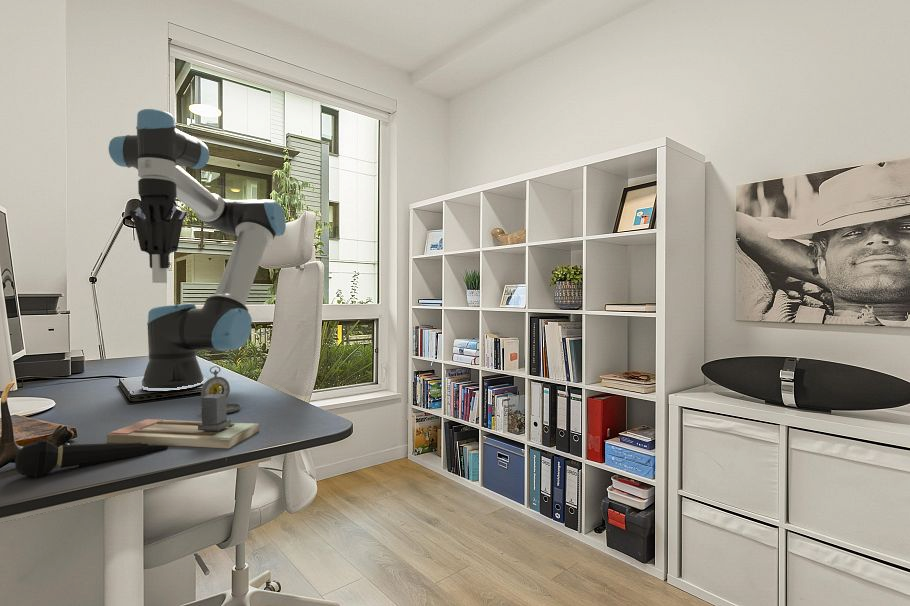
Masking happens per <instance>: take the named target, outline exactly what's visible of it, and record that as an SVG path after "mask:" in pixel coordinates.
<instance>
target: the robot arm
mask: <svg viewBox="0 0 910 606" xmlns="http://www.w3.org/2000/svg"><path fill="white" fill-rule="evenodd" d="M136 120H137V121H136V127H135V129H136V135H130V134H126V135H120V136H115V137H112V138H111V140H110V141H109V144H108V154H109V156H110V158H111V160H112V162H114V163H115V165H117V166H119V167H122V168H123V167H124V168H129V169H130V168H135V169H136V170H137V176H138V178H139V179H138V181H137V183H138V186H137V187H138V188H137V189H138V191H137V192H138V196H139V197H140V202H139V204H138V207H137V208H136V209H135V210H132V209H130V210H129V212H128V214H129V215H130V217H131V219H132V220H133V224H134V227H135V231H136V232H135V233H136V236H137V241H138V244H139V248H140V251H142V252H145V253H147V254H148V255H149V256H148V258H149V268H150V269H152V271H151V272H152V275H151V276H152V277H151V278H152V284H153V283H154V284H158V283H159V284H161V283H162V284H167V283H168V279H167V278H168V277H167V276H168V272H167V269H169V268H170V254H172V253H174V252H175V253H177V251H178V249H179V243H180V239H181V238H180V237H181V233H182V227H183V223H184V221H185V218H186V217H187V215H188V213H187V211H185V210H182V209H181V208H179V207H178V204H177V203H176V200H178V201H179V202H181V203H182V204H184V205H185V206H187V208H189V209H190V210H191V211H193V212H195V215H196V217H197V219H198V220H200V221H202V222H203V223H205V224H206V225H208V226H209V227H211V228H213V229H215V230H216V231H219V232H221V233H224V234H227V235H229V236H236V237H237V238H236V241H235V244H234V246H233V248H232V250H231V253H230V255H229V258H228V261H227V263H226V264H225V265H226V266H225V268H224V271H223V273H222V275H221V278H220V280H219V282H218V286H217V287H216V290H215V292H214V294H213V295H211V296H209V297H207V298H205V302H204V303H203V306H202V307H201V308H197V306H196V304H195V303H180V304H171V305H170V304H169V305H164V306H163V305H162V306H155V307H152V308H151V309H150V310H149V311H148V314H147V322H146V326H147V339H148V340H147V343H148V347H147V348H148V363H147V365H146V367H145V372H144V375H143V378H142V380H141V387H142V386H144V387H148V388H177V387H182V386H188V385H194V384H197V383H201V382H202V381H203V380H204V375H203V373H202V369H201V365H200V364H199V361H198V359H197V351H219V352H225V351H235V350H238V349H240V348H242V347H243V346H245V345H246V343H247V342H248V340H249V339H250V336H251V332H252V326H251V325H252V323H253V321H252V316H251V314H250V312H249V309H248V308H249V307H247V305H246V304H247V300H248V298H249V294H250V292H251V289H252V286H253V283H254V281H255V278H256V276H257V275H256V274H257V273H258V271H259V267H260V264H261V261H262V258H263V256H264V253H265V249H266V247H270V246H271V245H272V244H273V242H274V240H275V237H276V236H277V237H280V236H283V235H284V234H285V232H286V225H287V224H286V216H285V212H284V209H283V207H282V206H281V204H280V203H279V202H278V201H277V200H274V199H266V198H264V199H226V198H223V197H222V196H220V195H219V194H216V193H212V192H210V191H209V190H208V189H207V188H206V187H205V186H204V185H202V184H201V183H200V182H198V181H197V179H195V178H194V177H193V176H191V175H190V174H189V173H188V172H187V171H185V170H184V169H183V168H182V167H185V168H187V169H193V170H199V169H202V168H204V167H205V166H207V164H208V162H209V160H210V151H209V148H208V146H207V145H206V144H205V143H204V142H203V141H201V140H200V139H198V138H197V137H195V136H191V135H189V134H188V133H185V132H183V131H181V130H179V129H177V128H176V126H177V125H176V119H175V117H174V116H173V114H171V113H170V112H167V111H165V110H160V109H156V108H154V109H153V108H146V109H145V108H143V109H141V110H139V111H138V112H137V117H136Z"/></svg>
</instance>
